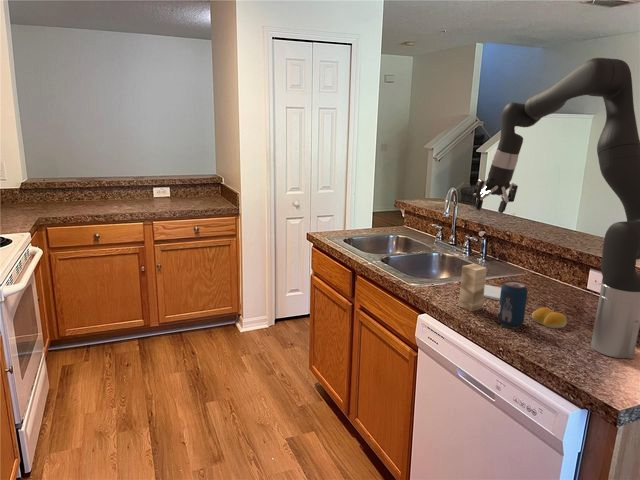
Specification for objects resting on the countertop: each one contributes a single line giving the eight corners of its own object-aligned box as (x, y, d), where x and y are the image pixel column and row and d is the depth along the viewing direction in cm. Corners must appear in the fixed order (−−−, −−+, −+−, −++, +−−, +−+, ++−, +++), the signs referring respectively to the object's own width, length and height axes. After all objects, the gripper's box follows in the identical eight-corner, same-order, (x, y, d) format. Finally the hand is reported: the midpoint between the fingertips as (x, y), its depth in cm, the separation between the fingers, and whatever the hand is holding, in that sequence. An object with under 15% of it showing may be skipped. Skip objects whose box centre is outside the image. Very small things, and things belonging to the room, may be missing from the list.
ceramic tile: (508, 291, 162) (508, 289, 161) (500, 300, 153) (501, 298, 153) (475, 284, 167) (476, 282, 167) (466, 293, 159) (466, 291, 158)
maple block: (482, 308, 146) (486, 267, 143) (471, 311, 143) (476, 270, 140) (468, 303, 150) (472, 263, 147) (458, 306, 147) (462, 266, 144)
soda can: (520, 320, 138) (525, 281, 135) (525, 330, 131) (531, 289, 128) (495, 317, 139) (500, 278, 136) (499, 327, 132) (504, 286, 130)
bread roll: (556, 331, 131) (558, 318, 130) (527, 320, 138) (528, 307, 137) (572, 325, 135) (574, 312, 134) (543, 314, 143) (545, 302, 142)
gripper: (489, 165, 152) (474, 212, 158) (528, 170, 155) (513, 217, 161) (478, 159, 159) (465, 205, 165) (516, 164, 162) (502, 209, 168)
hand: (489, 211), depth 163 cm, fingers open, 8 cm apart
